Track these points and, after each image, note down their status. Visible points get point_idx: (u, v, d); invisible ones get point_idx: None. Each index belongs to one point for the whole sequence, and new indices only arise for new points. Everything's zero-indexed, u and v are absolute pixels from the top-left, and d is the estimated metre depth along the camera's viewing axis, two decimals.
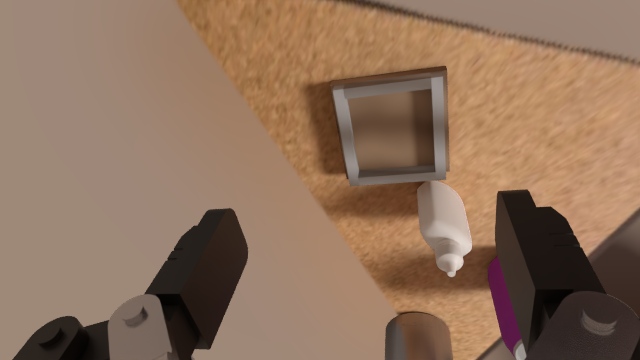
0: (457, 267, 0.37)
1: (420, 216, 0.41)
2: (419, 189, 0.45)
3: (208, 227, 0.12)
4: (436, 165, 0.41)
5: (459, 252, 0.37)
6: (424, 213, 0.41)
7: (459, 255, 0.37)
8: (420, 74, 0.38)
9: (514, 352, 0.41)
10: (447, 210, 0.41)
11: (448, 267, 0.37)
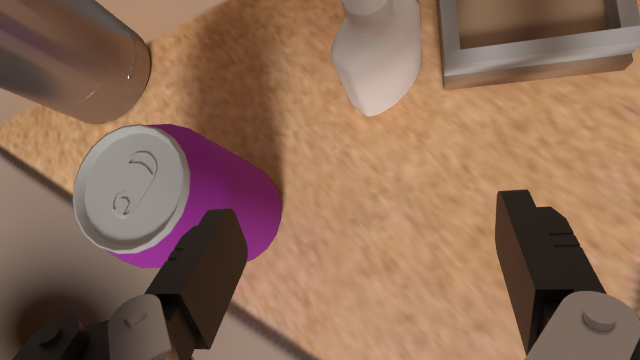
0: (359, 1, 0.19)
1: None
2: None
3: (208, 227, 0.12)
4: (473, 49, 0.26)
5: (383, 14, 0.20)
6: None
7: (382, 8, 0.19)
8: None
9: None
10: (410, 48, 0.24)
11: None
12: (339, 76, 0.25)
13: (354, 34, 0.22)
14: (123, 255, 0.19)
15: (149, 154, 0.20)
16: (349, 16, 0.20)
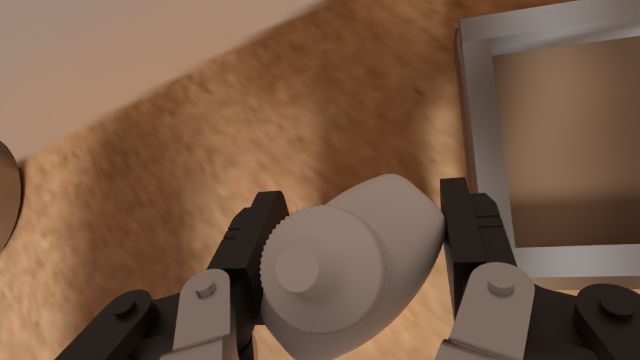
0: (301, 304, 0.07)
1: None
2: None
3: (262, 208, 0.12)
4: (541, 250, 0.14)
5: (365, 316, 0.08)
6: None
7: (363, 316, 0.07)
8: None
9: None
10: None
11: (325, 255, 0.07)
12: None
13: None
14: None
15: None
16: None
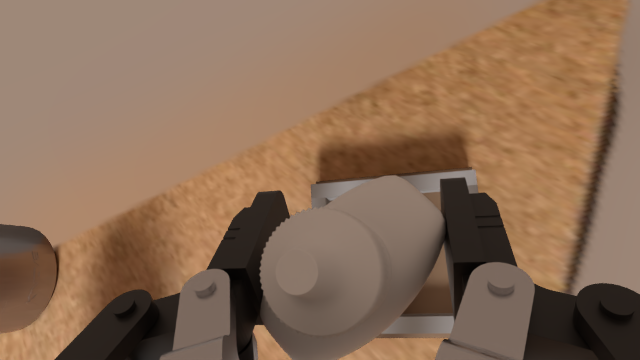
0: (300, 307, 0.07)
1: None
2: None
3: (262, 208, 0.12)
4: None
5: (365, 319, 0.08)
6: None
7: (363, 319, 0.07)
8: None
9: None
10: None
11: (325, 258, 0.07)
12: None
13: None
14: None
15: None
16: None
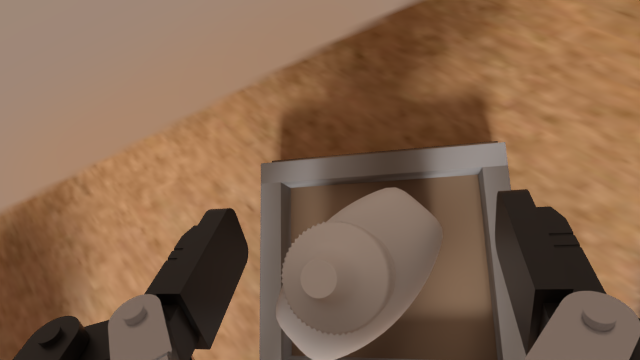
0: (319, 308, 0.08)
1: None
2: None
3: (208, 227, 0.12)
4: None
5: (374, 317, 0.09)
6: None
7: (373, 317, 0.08)
8: None
9: None
10: None
11: (341, 266, 0.08)
12: None
13: None
14: None
15: None
16: None
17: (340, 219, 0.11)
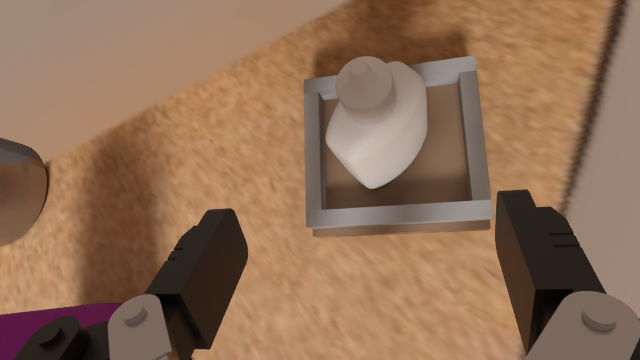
0: (356, 94, 0.16)
1: None
2: None
3: (208, 227, 0.12)
4: (333, 211, 0.25)
5: (385, 105, 0.17)
6: None
7: (384, 100, 0.17)
8: None
9: None
10: (416, 126, 0.21)
11: (368, 66, 0.16)
12: None
13: (352, 120, 0.19)
14: None
15: None
16: (345, 107, 0.17)
17: None
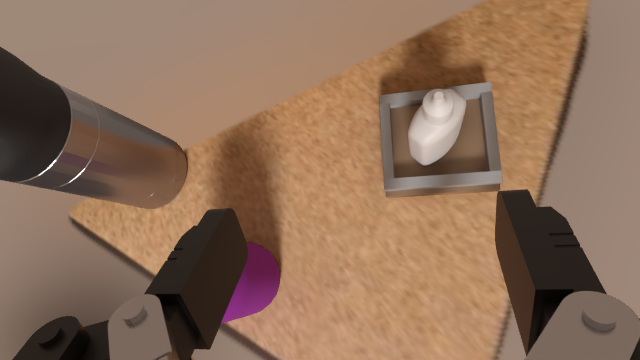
0: (435, 109, 0.31)
1: None
2: None
3: (208, 227, 0.12)
4: (402, 178, 0.40)
5: (449, 115, 0.32)
6: None
7: (449, 112, 0.32)
8: None
9: None
10: (459, 125, 0.36)
11: None
12: (410, 144, 0.37)
13: (426, 122, 0.34)
14: None
15: None
16: (427, 115, 0.32)
17: None
